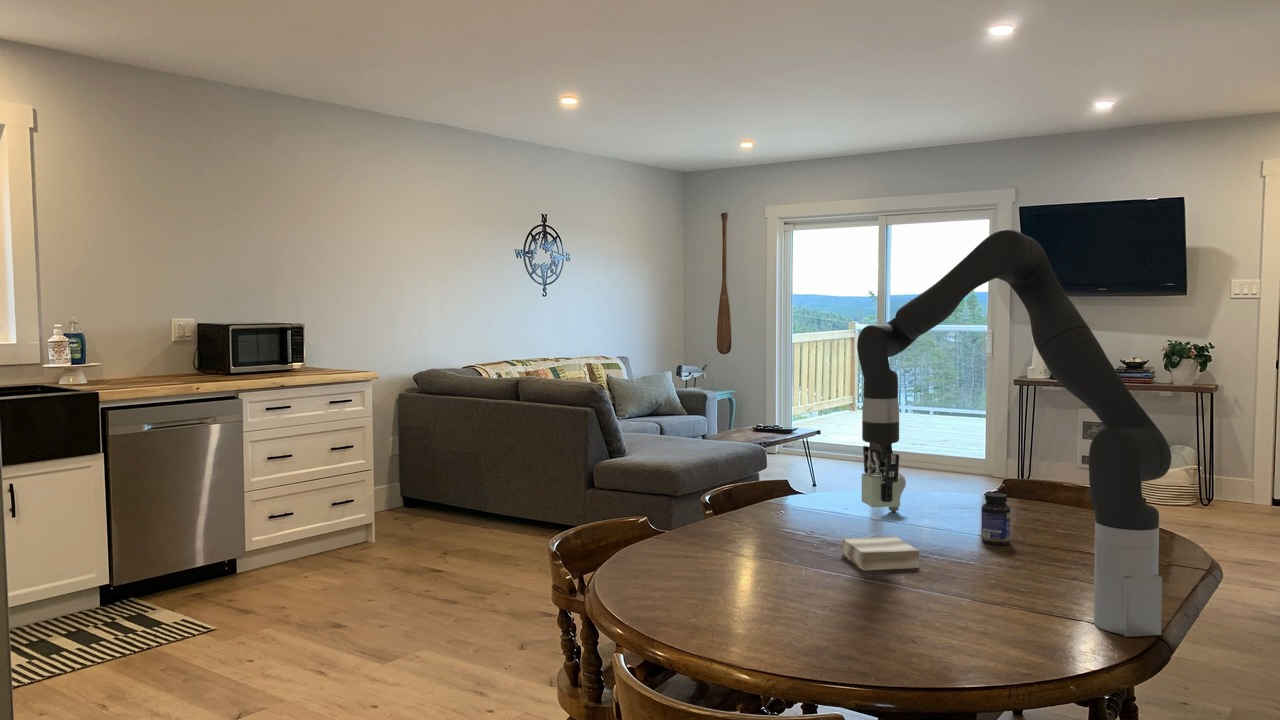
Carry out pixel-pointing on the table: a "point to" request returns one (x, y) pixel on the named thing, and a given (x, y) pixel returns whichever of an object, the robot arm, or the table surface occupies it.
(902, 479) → the lightbulb
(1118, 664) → the table surface
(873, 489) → the sage block
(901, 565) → the birch block
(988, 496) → the pill bottle
